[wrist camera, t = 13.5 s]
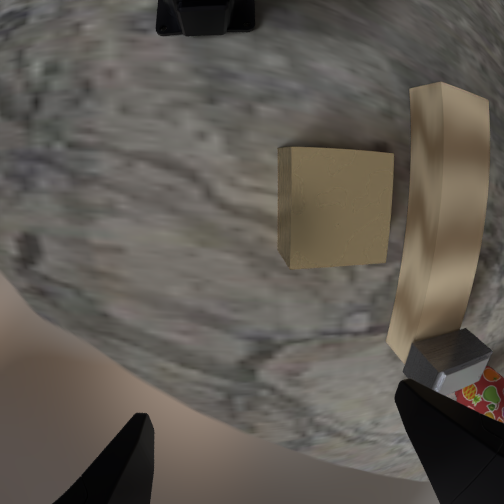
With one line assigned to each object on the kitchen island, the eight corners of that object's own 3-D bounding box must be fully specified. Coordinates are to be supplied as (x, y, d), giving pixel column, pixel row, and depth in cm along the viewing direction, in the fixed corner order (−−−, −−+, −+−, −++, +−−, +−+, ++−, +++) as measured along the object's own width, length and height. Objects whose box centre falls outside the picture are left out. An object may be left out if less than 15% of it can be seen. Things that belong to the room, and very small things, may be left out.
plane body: (409, 88, 18) (441, 81, 14) (456, 102, 19) (488, 100, 15) (385, 341, 25) (406, 366, 21) (429, 331, 26) (451, 352, 22)
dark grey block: (411, 342, 20) (441, 375, 16) (465, 328, 21) (494, 353, 17) (402, 371, 21) (427, 404, 17) (455, 355, 22) (481, 381, 18)
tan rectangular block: (277, 148, 19) (291, 146, 15) (364, 152, 20) (393, 153, 16) (276, 248, 21) (289, 269, 18) (359, 244, 22) (385, 262, 18)
